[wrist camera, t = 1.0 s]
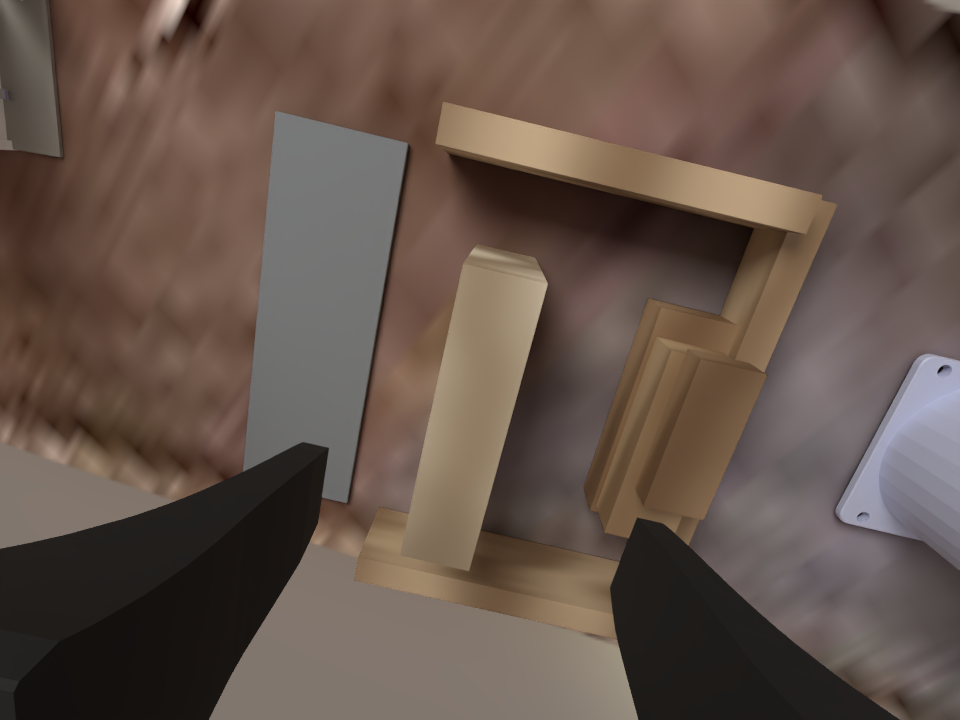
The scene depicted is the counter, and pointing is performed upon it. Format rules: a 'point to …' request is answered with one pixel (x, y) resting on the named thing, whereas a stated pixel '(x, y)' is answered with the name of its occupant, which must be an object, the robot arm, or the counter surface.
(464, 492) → the wooden block
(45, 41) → the skyscraper
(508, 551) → the rack
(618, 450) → the offcuts
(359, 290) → the mat
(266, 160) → the counter surface
